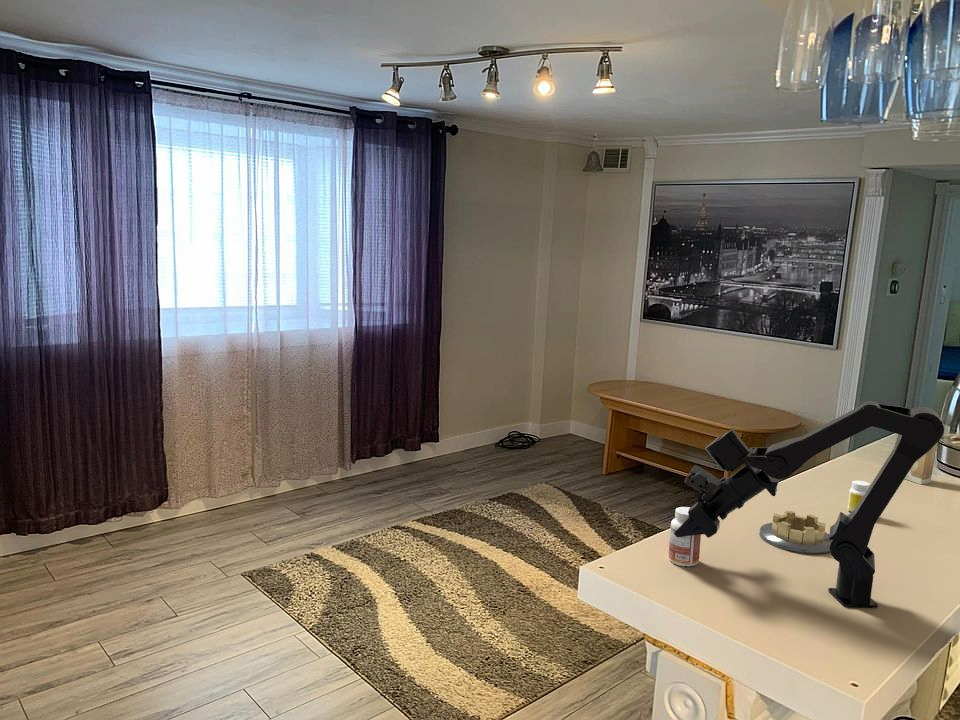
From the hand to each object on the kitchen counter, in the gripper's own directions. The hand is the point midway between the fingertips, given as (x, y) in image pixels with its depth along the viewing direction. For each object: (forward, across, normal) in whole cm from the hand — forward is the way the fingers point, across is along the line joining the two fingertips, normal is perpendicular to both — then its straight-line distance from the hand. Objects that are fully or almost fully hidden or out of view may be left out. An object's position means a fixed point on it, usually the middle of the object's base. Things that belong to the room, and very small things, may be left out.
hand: (678, 529), depth 151 cm
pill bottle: (+4, 0, +6) cm, 7 cm away
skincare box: (-30, -92, +40) cm, 105 cm away
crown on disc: (-11, -26, +20) cm, 34 cm away
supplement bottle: (-19, -51, +29) cm, 62 cm away
